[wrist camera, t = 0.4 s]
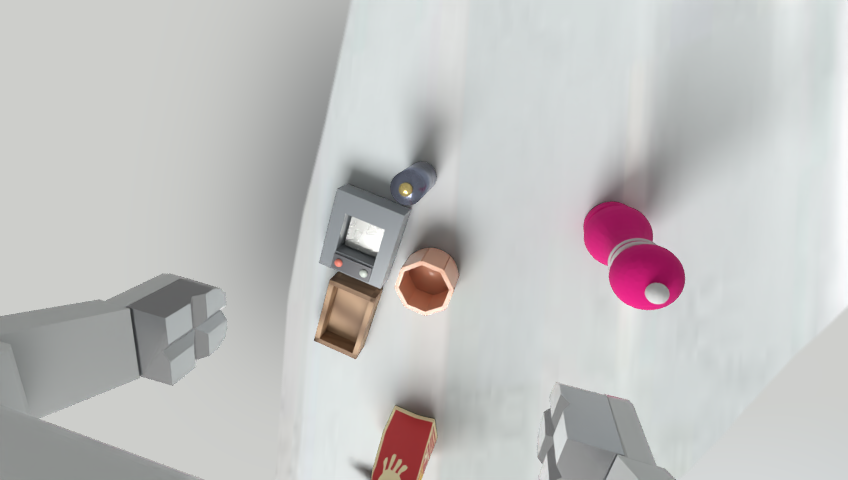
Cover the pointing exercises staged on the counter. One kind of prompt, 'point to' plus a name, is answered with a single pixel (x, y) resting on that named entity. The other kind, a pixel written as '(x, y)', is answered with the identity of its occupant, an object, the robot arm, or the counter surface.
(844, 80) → the counter surface
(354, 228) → the plate
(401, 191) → the cell
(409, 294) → the cup
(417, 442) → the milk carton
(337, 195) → the grey rectangular frame box
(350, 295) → the trough
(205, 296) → the robot arm
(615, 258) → the pepper mill
